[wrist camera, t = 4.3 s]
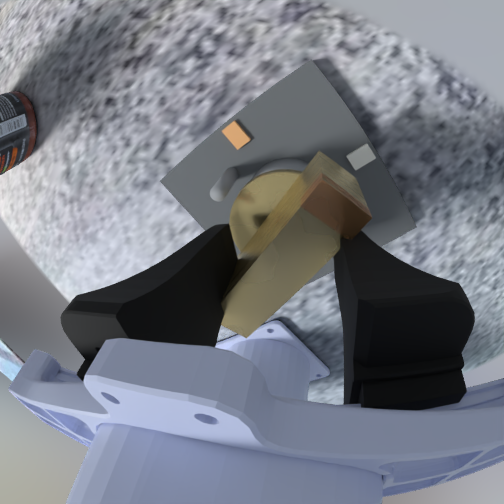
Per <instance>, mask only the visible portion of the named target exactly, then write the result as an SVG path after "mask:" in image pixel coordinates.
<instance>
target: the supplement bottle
mask: <svg viewBox="0 0 504 504" xmlns="http://www.w3.org/2000/svg"><path fill="white" fill-rule="evenodd" d="M36 133H37V129H36V118H35V113H34V109H33V106H32V104H31V102H30V101H29V99H28V98H27V97H26V96H25V95H24V94H23V93H21V92H18V91H14V92H9V93H5V94H1V95H0V175H1V174H3V173H5V172H6V171H8V170H10V169H12V168H13V167H15V166H17V165H18V164H20V163H21V162H23V161H24V160H26V159H27V158H28V157H29V156H30V154H31V152H32V150H33V148H34V144H35V140H36Z"/></svg>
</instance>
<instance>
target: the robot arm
mask: <svg viewBox="0 0 504 504" xmlns="http://www.w3.org/2000/svg"><path fill="white" fill-rule="evenodd" d="M333 259H334V273H335V282H336V288H337V293H338V299H339V305H340V311H341V317H342V324H343V339H344V405H333V404H325V403H318V402H311V401H307V400H308V388H309V382H310V381H313V380H317V379H320V378H323V377H327V376H329V375H330V370H329V369H328V368H327V367H326V366H325V365H324V364H323V363H322V362H321V361H320V360H319V359H318V358H317V357H316V356H315V355H314V354H313V353H312V352H311V351H310V350H309V349H308V348H307V347H306V346H305V345H304V344H303V343H302V342H301V341H300V340H299V339H298V338H297V337H296V336H295V335H294V334H293V333H292V332H291V331H290V330H289V329H288V328H287V327H286V326H285V325H284V324H283V323H282V322H280V321H278V320H275V321H271V322H269V323H266V324H264V325H262V326H260V327H259V328H258V329H257V330H255V331H254V332H253V333H252V334H251V335H250V336H249V337H248V338H245V337H243V336H241V335H236V336H234V337H231V338H229V339H226V340H223V341H221V342H218V343H216V342H217V337H218V333H219V329H220V326H221V323H222V320H223V317H224V315H225V314H224V311H223V308H222V305H221V301H222V299H223V296H224V294H225V291H226V289H227V287H228V284H229V282H230V279H231V277H232V275H233V272H234V269H235V266H236V264H237V261H238V257H237V253H236V249H235V245H234V241H233V237H232V233H231V229H230V225H229V224H219V225H214V226H212V227H210V228H209V229H207V230H206V231H204V232H203V233H202V234H200V235H199V236H197V237H196V238H195V239H193V240H192V241H190V242H189V243H188V244H186V245H185V246H184V247H182V248H181V249H179V250H178V251H176V252H175V253H173V254H172V255H170V256H169V257H167V258H166V259H164V260H162V261H161V262H159V263H157V264H156V265H154V266H152V267H150V268H149V269H147V270H145V271H143V272H140V273H138V274H136V275H134V276H132V277H130V278H128V279H125V280H123V281H121V282H118V283H116V284H113V285H110V286H107V287H104V288H101V289H98V290H95V291H91V292H88V293H84V294H80V295H77V296H76V297H75V298H74V299H73V300H72V301H71V303H70V304H69V305H68V307H67V308H66V309H65V310H64V311H63V313H62V315H61V324H62V327H63V330H64V332H65V333H66V335H67V336H68V338H69V339H70V340H71V342H72V343H73V344H74V346H75V347H76V348H77V350H78V351H79V352H80V353H81V355H82V356H83V357H84V358H85V361H84V362H83V364H82V366H81V367H80V369H79V371H78V372H75V371H72V370H69V369H66V368H63V367H61V366H60V364H59V363H58V362H57V360H56V359H55V358H54V357H53V356H52V355H50V354H49V353H46V352H43V351H40V350H37V349H34V351H33V352H32V353H31V355H30V356H29V358H28V359H27V361H26V362H25V364H24V365H23V367H22V368H21V370H20V371H19V373H18V374H17V376H16V377H15V379H14V380H13V382H12V384H11V385H10V387H9V391H10V392H11V393H12V394H13V395H14V396H15V397H16V398H17V399H18V400H19V401H20V402H21V403H22V404H23V405H24V406H26V407H27V408H28V409H29V410H30V411H31V412H32V413H34V414H35V415H36V416H37V417H38V418H40V419H41V420H42V421H43V422H45V423H46V424H48V425H50V426H51V427H53V428H55V429H56V430H58V431H60V432H62V433H64V434H66V435H67V436H69V437H71V438H72V439H74V440H76V441H78V442H80V443H82V444H83V445H85V446H87V447H89V450H88V452H87V454H86V456H85V459H84V461H83V463H82V466H81V468H80V470H79V472H78V475H77V477H76V479H75V482H74V484H73V487H72V489H71V492H70V494H69V496H68V499H67V502H66V504H382V497H386V496H392V495H397V494H402V493H407V492H411V491H416V490H420V489H423V488H428V487H431V486H435V485H438V484H442V483H445V482H448V481H451V480H455V479H457V478H461V477H463V476H466V475H469V474H472V473H475V472H477V471H480V470H482V469H485V468H487V467H490V466H492V465H495V464H497V463H500V462H502V461H504V378H503V379H499V380H496V381H492V382H488V383H484V384H481V385H477V386H473V387H468V388H466V385H465V381H464V378H463V374H462V371H461V369H462V368H463V367H464V361H463V357H462V354H461V353H462V351H463V349H464V347H465V345H466V343H467V340H468V338H469V336H470V334H471V332H472V329H473V326H474V322H475V316H474V311H473V309H472V307H471V305H470V302H469V300H468V298H467V296H466V294H465V292H464V291H463V289H462V287H461V286H460V284H459V283H456V282H453V281H449V280H446V279H443V278H439V277H436V276H433V275H431V274H428V273H426V272H423V271H421V270H419V269H417V268H414V267H412V266H410V265H409V264H407V263H405V262H403V261H401V260H399V259H398V258H396V257H394V256H393V255H391V254H390V253H388V252H387V251H385V250H384V249H382V248H381V247H380V246H379V245H377V244H376V243H375V242H374V241H372V240H371V239H370V238H369V237H368V236H367V235H366V234H365V233H364V232H363V231H362V230H360V232H359V233H358V234H357V235H356V236H355V237H354V238H353V239H346V238H344V239H340V250H339V251H338V252H337V253H336V254H335V255H334V256H333ZM269 328H270V329H269Z"/></svg>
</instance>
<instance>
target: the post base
mask: <svg viewBox="0 0 504 504" xmlns="http://www.w3.org/2000/svg"><path fill="white" fill-rule="evenodd" d="M318 151H321V152H322V153H324V154H325V155H326V156H328V157H329V158H330V159H332V160H333V161H334V162H336V163H337V164H338V165H340V166H341V167H342V168H344V169H345V170H346V171H347V172H349V173H350V174H351V175H353V176H354V177H355V178H356V179H357V181H358V184H359V186H360V188H361V191H362V193H363V196H364V198H365V201H366V203H367V206H368V209H369V210H370V213H371V216H372V219H371V220H370V221H369V222H368V223H367V224H366V225H365V226H364V227H363V228H362V229H361V230H362V231H363V232H364V233H365V234H366V235H367V236H368V237H369V238H370V239H371V240H372V241H374V242H375V243H376V244H377V245H379V246H380V247H381V246H383V245H385V244H387V243H389V242H390V241H392V240H394V239H396V238H398V237H400V236H401V235H403V234H405V233H407V232H409V231H411V230H412V229H414V228H416V224H415V222H414V220H413V218H412V216H411V214H410V212H409V210H408V208H407V206H406V204H405V202H404V200H403V198H402V196H401V194H400V192H399V190H398V188H397V186H396V185H395V183H394V181H393V179H392V177H391V175H390V174H389V172H388V170H387V168H386V167H385V165H384V163H383V161H382V160H381V158H380V156H379V155H378V153H377V151H376V150H375V148H374V146H373V145H372V143H371V141H370V140H369V138H368V137H367V135H366V134H365V132H364V130H363V129H362V127H361V126H360V124H359V123H358V121H357V120H356V118H355V117H354V115H353V114H352V113H351V111H350V110H349V108H348V107H347V105H346V104H345V103H344V101H343V100H342V98H341V97H340V96H339V94H338V93H337V92H336V90H335V89H334V88H333V86H332V85H331V84H330V82H329V81H328V80H327V78H326V77H325V76H324V75H323V73H322V72H321V71H320V69H319V68H318V67H317V66H316V65H315V63H314V62H313V61H312V60H310V61H309V62H307V63H306V64H304V65H303V66H301V67H300V68H298V69H297V70H295V71H294V72H292V73H291V74H289V75H288V76H286V77H285V78H284V79H282V80H281V81H279V82H278V83H277V84H275V85H274V86H272V87H271V88H270V89H268V90H267V91H266V92H264V93H263V94H261V95H260V96H259V97H257V98H256V99H255V100H254V101H252V102H251V103H250V104H248V105H247V106H246V107H244V108H243V109H242V110H241V111H239V112H238V113H237V114H236V115H234V116H233V117H232V118H231V119H229V120H228V121H227V122H226V123H224V124H223V125H222V126H221V127H220V128H218V129H217V130H216V131H215V132H214V133H213V134H211V135H210V136H209V137H208V138H207V139H205V140H204V141H203V142H202V143H201V144H200V145H199V146H197V147H196V148H195V149H194V150H193V151H192V152H191V153H190V154H189V155H187V156H186V157H185V158H184V159H183V160H182V161H181V162H180V163H179V164H178V165H177V166H175V167H174V168H173V169H172V170H171V171H170V172H169V173H168V174H167V175H166V176H165V177H164V178H163V179H162V180H161V181H160V182H161V183H162V184H163V185H164V186H165V187H166V188H167V189H168V191H169V192H170V193H171V194H172V195H173V196H174V197H175V198H176V199H177V200H178V202H179V203H180V204H181V205H182V206H183V207H184V208H185V209H186V210H187V211H188V212H189V214H190V215H191V216H192V217H193V218H194V219H195V220H196V221H197V222H198V223H199V224H200V225H201V227H202V228H203V229H204V230H205V231H206V230H207V229H209V228H210V227H212V226H214V225H219V224H229V220H230V212H231V208H232V206H233V203H234V201H235V199H236V198H237V196H238V194H239V192H240V191H241V189H242V188H243V187H244V186H245V185H246V184H247V183H248V182H249V181H250V180H252V179H253V178H254V177H256V176H258V175H260V174H262V173H265V172H268V171H272V170H278V169H292V170H298V171H302V172H303V170H304V169H305V168H306V166H307V165H308V164H309V163H310V161H311V160H312V159H313V157H314V156H315V155H316V154H317V152H318ZM229 225H230V224H229ZM233 241H234V240H233ZM234 245H235V249H236V253H237V256H238V255H239V254H240V250H239V249H238V247H237V246H236V244H235V242H234ZM333 271H334V259H333V257H332V258H331V259H330V260H329V261H328V262H327V263H326V264H325V265H324V266H323V267H322V268H321V269H320V270H319V271H318V272H317V273H316V274H315V275H314V276H313V277H312V278H311V279H310V280H309V281H308V282H307V283H306V284H308V283H310V282H313V281H315V280H317V279H319V278H321V277H323V276H325V275H327V274H329V273H331V272H333ZM306 284H305V285H306Z"/></svg>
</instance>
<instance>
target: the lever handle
mask: <svg viewBox="0 0 504 504" xmlns="http://www.w3.org/2000/svg"><path fill="white" fill-rule="evenodd" d="M371 219H372V216H371V213H370V210H369V209H368V206H367V203H366V201H365V198H364V196H363V193H362V191H361V188H360V186H359V184H358V181H357V179H356V178H355V177H354V176H353V175H351V174H350V173H349V172H347V171H346V170H345V169H344V168H342V167H341V166H340V165H338V164H337V163H336V162H334V161H333V160H332V159H330V158H329V157H328V156H326V155H325V154H324V153H322V152H321V151H318V152H317V154H316V155H315V156H314V157H313V159H312V160H311V161H310V163H309V164H308V165H307V166H306V168H305V169H304V170H303V172H302V171H298V170H292V169H278V170H272V171H268V172H265V173H262V174H260V175H258V176H256V177H254V178H253V179H252V180H250V181H249V182H248V183H247V184H246V185H245V186H244V187H243V188H242V189H241V191H240V192H239V194H238V196H237V198H236V199H235V201H234V203H233V206H232V208H231V212H230V220H229V224H230V229H231V233H232V237H233V240H234V242H235V244H236V246H237V247H238V249H239V250H240V254H239V255H238V256H237V257H238V261H237V264H236V266H235V269H234V272H233V275H232V277H231V279H230V282H229V284H228V287H227V289H226V291H225V294H224V296H223V299H222V301H221V305H222V308H223V311H224V314H225V315H224V317H223V320H222V323H221V325H222V326H224V327H226V328H228V329H230V330H232V331H234V332H235V333H237V334H239V335H241V336H243V337H245V338H248V337H249V336H250V335H251V334H252V333H253V332H254V331H255V330H257V329H258V328H259V327H260V326H261V325H262V324H263V323H264V322H265V321H266V320H268V319H269V318H270V317H271V316H272V315H273V314H274V313H275V312H276V311H277V310H278V309H279V308H281V307H282V306H283V305H284V304H285V303H286V302H287V301H288V300H289V299H290V298H291V297H292V296H293V295H294V294H295V293H296V292H297V291H299V290H300V289H301V288H302V287H303V286H304V285H305V284H306V283H307V282H308V281H309V280H310V279H311V278H312V277H313V276H314V275H315V274H316V273H317V272H318V271H319V270H320V269H321V268H322V267H323V266H324V265H325V264H326V263H327V262H328V261H329V260H330V259H331V258H332V257H333V256H334V255H335V254H336V253H337V252H338V251H339V250H340V239H344V238H346V239H353V238H354V237H355V236H356V235H357V234H358V233H359V232H360V230H361V229H362V228H363V227H364V226H365V225H366V224H367V223H368V222H369V221H370V220H371Z"/></svg>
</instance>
